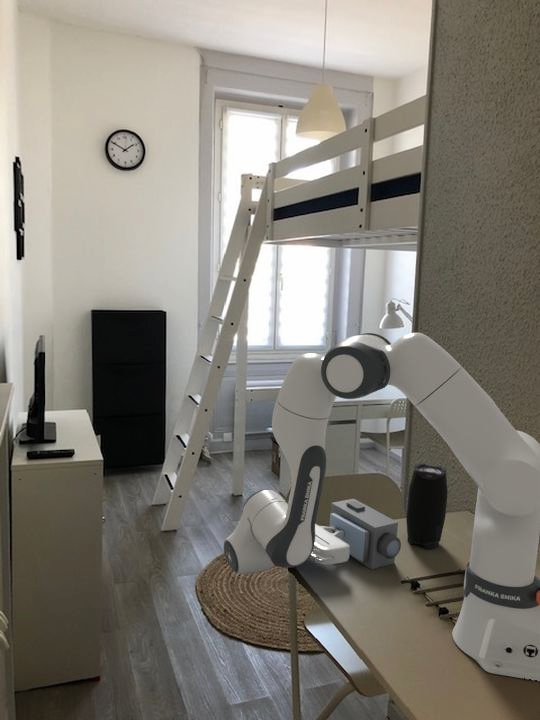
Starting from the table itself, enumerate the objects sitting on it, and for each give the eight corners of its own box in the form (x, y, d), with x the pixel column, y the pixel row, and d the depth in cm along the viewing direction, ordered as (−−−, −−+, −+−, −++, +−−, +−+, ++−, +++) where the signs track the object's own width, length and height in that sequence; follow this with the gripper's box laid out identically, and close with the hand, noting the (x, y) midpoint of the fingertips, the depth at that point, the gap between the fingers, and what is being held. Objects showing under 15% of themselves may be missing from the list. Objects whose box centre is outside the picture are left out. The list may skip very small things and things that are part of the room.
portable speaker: (399, 535, 157) (406, 462, 155) (434, 535, 159) (441, 462, 156) (411, 550, 149) (419, 473, 146) (447, 550, 150) (455, 473, 148)
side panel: (368, 562, 139) (371, 532, 138) (364, 563, 138) (367, 533, 137) (331, 540, 149) (334, 512, 148) (328, 541, 148) (330, 513, 147)
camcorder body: (402, 568, 140) (406, 523, 138) (379, 574, 136) (383, 529, 134) (350, 535, 155) (353, 495, 154) (328, 541, 152) (331, 499, 150)
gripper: (320, 548, 128) (370, 536, 135) (268, 513, 145) (315, 504, 152) (318, 576, 129) (367, 563, 136) (266, 538, 146) (313, 528, 153)
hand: (339, 531), depth 144 cm, fingers closed
